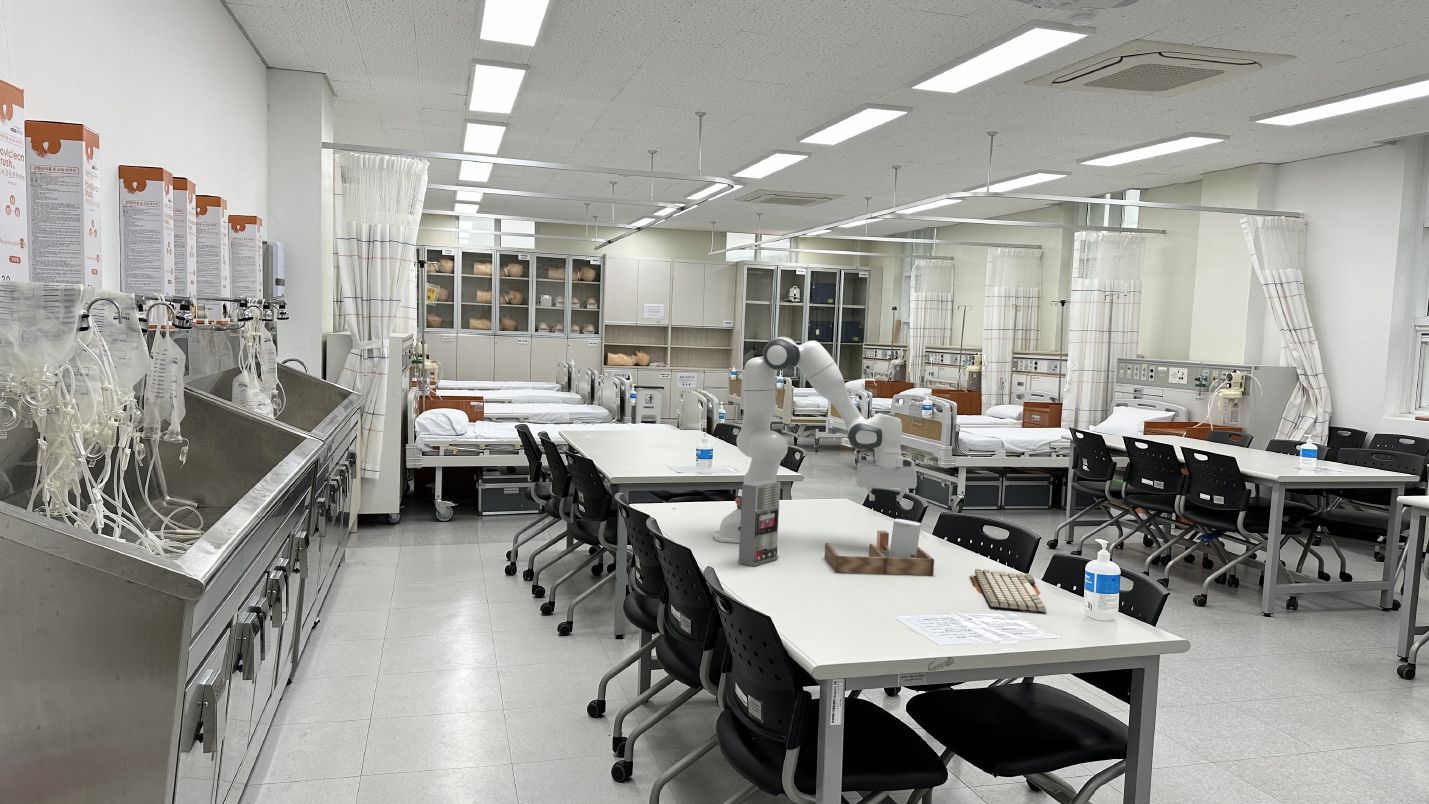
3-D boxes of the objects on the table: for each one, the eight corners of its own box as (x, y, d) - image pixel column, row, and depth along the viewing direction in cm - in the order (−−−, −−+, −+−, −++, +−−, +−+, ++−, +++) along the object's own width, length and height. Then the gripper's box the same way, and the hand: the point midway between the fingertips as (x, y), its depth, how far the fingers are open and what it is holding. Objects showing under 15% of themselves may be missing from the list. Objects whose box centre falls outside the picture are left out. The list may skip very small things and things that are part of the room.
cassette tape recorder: (754, 567, 275) (758, 486, 273) (737, 563, 278) (741, 484, 277) (778, 560, 286) (782, 482, 284) (762, 556, 289) (766, 479, 288)
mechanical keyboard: (1059, 618, 238) (1059, 605, 237) (984, 612, 240) (985, 599, 240) (1030, 582, 275) (1031, 571, 275) (967, 577, 278) (967, 567, 277)
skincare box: (887, 567, 280) (892, 520, 279) (889, 563, 286) (894, 517, 285) (914, 571, 277) (919, 524, 277) (916, 567, 283) (921, 521, 282)
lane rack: (835, 572, 272) (836, 556, 272) (824, 557, 291) (825, 542, 291) (933, 575, 274) (934, 559, 274) (915, 560, 293) (916, 545, 293)
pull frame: (888, 571, 275) (889, 552, 275) (864, 547, 308) (865, 530, 307) (925, 572, 276) (926, 553, 275) (897, 548, 308) (898, 531, 308)
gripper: (859, 460, 300) (857, 501, 301) (919, 462, 301) (917, 503, 302) (855, 458, 306) (853, 498, 307) (914, 459, 308) (912, 499, 309)
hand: (885, 500), depth 305 cm, fingers open, 8 cm apart
